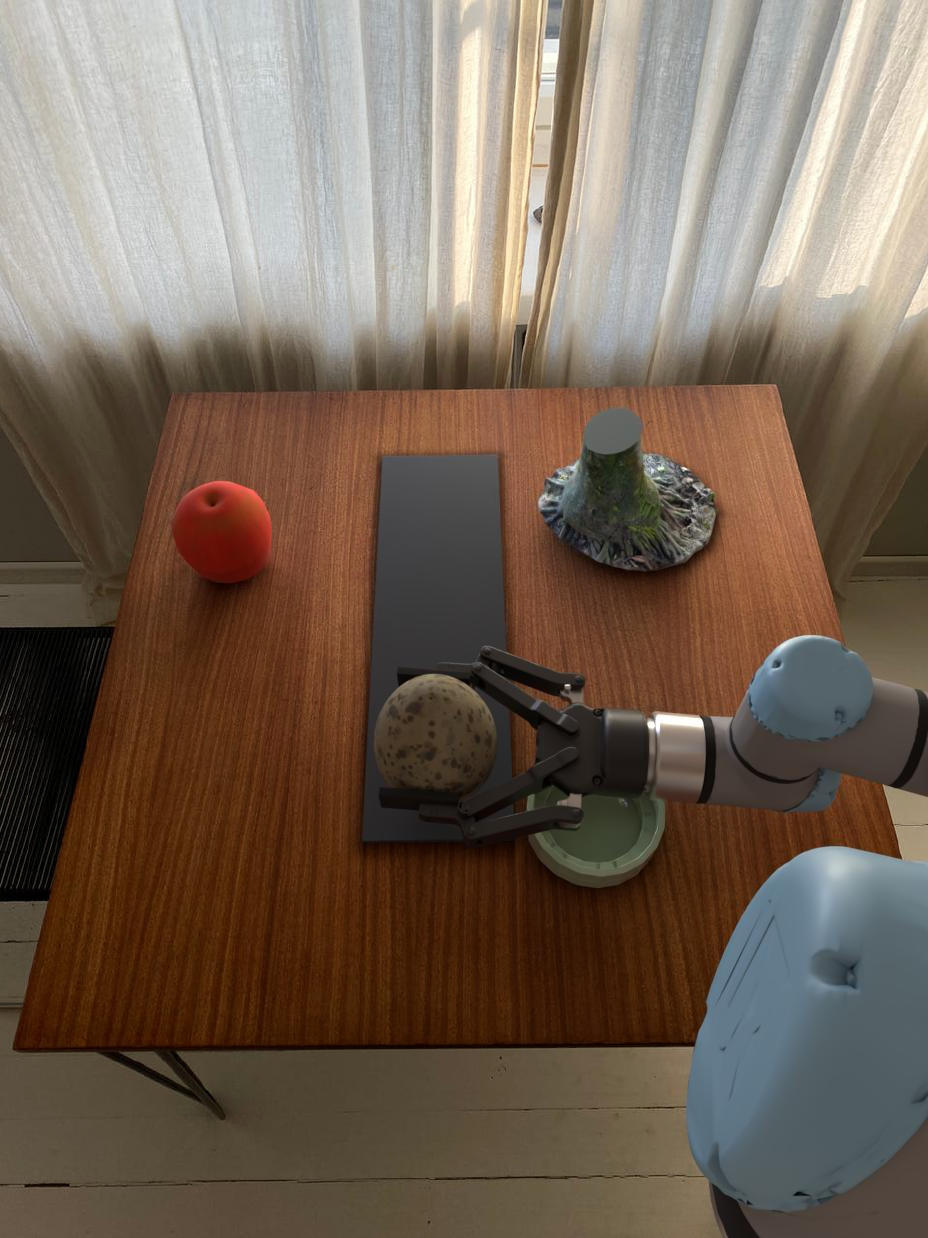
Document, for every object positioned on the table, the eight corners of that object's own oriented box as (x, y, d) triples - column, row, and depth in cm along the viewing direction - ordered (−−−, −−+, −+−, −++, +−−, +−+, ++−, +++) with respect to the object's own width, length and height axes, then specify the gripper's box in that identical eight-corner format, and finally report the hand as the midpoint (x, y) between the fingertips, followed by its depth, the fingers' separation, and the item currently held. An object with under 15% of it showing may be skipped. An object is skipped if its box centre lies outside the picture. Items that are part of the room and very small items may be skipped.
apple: (272, 519, 101) (251, 448, 92) (288, 586, 96) (267, 518, 86) (184, 539, 100) (153, 469, 90) (195, 609, 94) (164, 542, 85)
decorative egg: (425, 702, 86) (416, 618, 73) (517, 758, 83) (525, 681, 70) (358, 787, 81) (336, 713, 69) (453, 851, 78) (449, 786, 65)
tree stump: (744, 563, 98) (752, 468, 82) (573, 618, 100) (549, 535, 84) (687, 442, 107) (685, 335, 91) (531, 494, 109) (503, 398, 93)
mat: (515, 841, 80) (515, 839, 79) (362, 843, 80) (361, 841, 79) (497, 457, 106) (497, 454, 106) (382, 459, 106) (382, 455, 106)
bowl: (598, 918, 76) (604, 906, 73) (497, 823, 81) (498, 807, 78) (684, 823, 81) (693, 807, 77) (583, 738, 86) (588, 720, 82)
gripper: (640, 904, 71) (374, 881, 73) (635, 660, 84) (408, 644, 85) (656, 876, 65) (365, 852, 66) (648, 617, 78) (403, 600, 79)
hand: (389, 735), depth 76 cm, fingers closed on decorative egg, 11 cm apart
